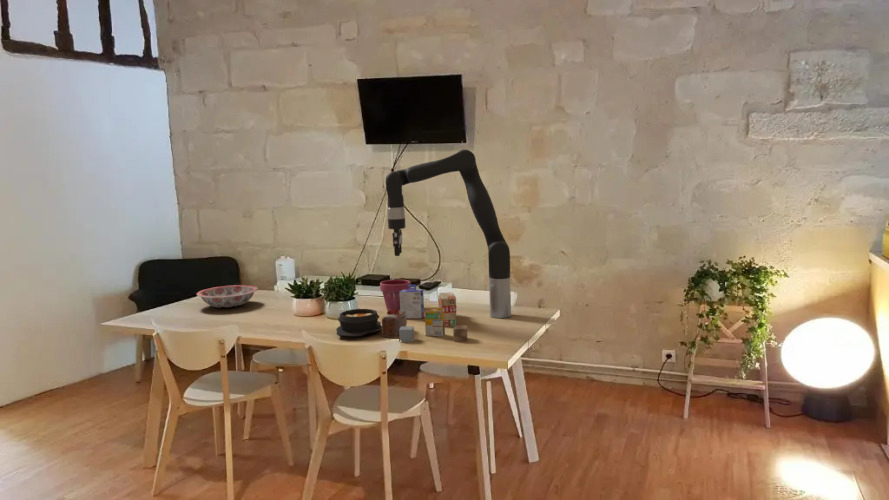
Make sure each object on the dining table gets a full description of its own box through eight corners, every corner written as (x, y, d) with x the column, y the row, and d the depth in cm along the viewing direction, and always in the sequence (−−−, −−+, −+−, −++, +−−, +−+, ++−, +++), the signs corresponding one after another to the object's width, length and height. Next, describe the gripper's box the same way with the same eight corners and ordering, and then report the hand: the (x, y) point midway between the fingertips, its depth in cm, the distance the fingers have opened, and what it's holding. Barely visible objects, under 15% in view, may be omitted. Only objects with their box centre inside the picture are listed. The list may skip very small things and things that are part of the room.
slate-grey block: (414, 338, 271) (413, 326, 270) (412, 342, 266) (412, 329, 265) (401, 338, 271) (401, 326, 271) (399, 342, 266) (399, 329, 266)
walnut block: (467, 338, 269) (466, 325, 269) (466, 341, 264) (466, 328, 264) (454, 338, 270) (454, 325, 269) (453, 341, 265) (453, 329, 264)
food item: (389, 328, 287) (388, 305, 286) (408, 329, 286) (407, 306, 285) (380, 337, 274) (379, 313, 273) (399, 338, 273) (398, 313, 271)
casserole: (369, 341, 269) (368, 320, 268) (325, 339, 274) (324, 319, 273) (390, 325, 293) (389, 306, 292) (349, 324, 298) (348, 305, 296)
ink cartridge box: (424, 316, 308) (423, 284, 306) (422, 318, 303) (420, 286, 301) (403, 315, 310) (402, 284, 308) (400, 318, 305) (398, 286, 303)
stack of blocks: (438, 315, 309) (437, 288, 307) (452, 314, 309) (451, 287, 307) (442, 327, 287) (441, 298, 286) (457, 326, 288) (456, 297, 286)
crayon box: (445, 334, 275) (444, 306, 274) (443, 336, 273) (442, 307, 271) (427, 334, 277) (426, 305, 275) (425, 336, 274) (424, 307, 272)
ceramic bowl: (234, 298, 363) (233, 283, 362) (271, 303, 346) (270, 288, 345) (185, 309, 340) (184, 293, 339) (222, 315, 323) (221, 299, 322)
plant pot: (414, 305, 331) (413, 279, 329) (407, 312, 317) (406, 284, 315) (385, 305, 333) (384, 279, 331) (377, 311, 319) (376, 284, 318)
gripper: (403, 218, 292) (405, 256, 294) (406, 215, 306) (408, 251, 308) (385, 219, 292) (387, 257, 294) (389, 216, 306) (391, 252, 309)
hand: (398, 254), depth 301 cm, fingers open, 8 cm apart
